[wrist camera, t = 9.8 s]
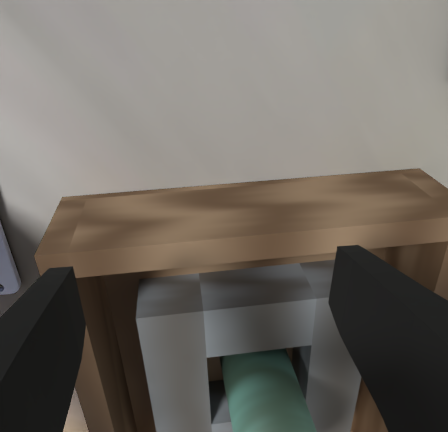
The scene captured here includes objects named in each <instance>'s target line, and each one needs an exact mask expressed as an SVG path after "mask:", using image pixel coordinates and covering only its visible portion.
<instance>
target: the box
mask: <svg viewBox="0 0 448 432" xmlns="http://www.w3.org/2000/svg"><path fill="white" fill-rule="evenodd" d="M349 245H359V246H361V247H363V248H364V249H366V250H368V251H369V252H371V253H373V254H374V255H376V256H377V257H379V258H380V259H382V260H384V261H385V262H387V263H388V264H390V265H391V266H393V267H394V268H396V269H397V270H399V271H400V272H402V273H404V274H405V275H407V276H408V277H410V278H411V279H413V280H415V281H416V282H418V283H419V284H421V285H423V286H424V287H426V288H427V289H429V290H431V291H432V292H434V293H436V294H437V295H439V296H441V297H443V298H445V299H446V300H448V189H447V188H446V187H445V186H443V185H442V184H440V183H439V182H438V181H436V180H435V179H433V178H432V177H431V176H429V175H428V174H427V173H425V172H424V171H422V170H421V169H420V168H419V169H407V170H395V171H382V172H370V173H357V174H345V175H332V176H320V177H307V178H295V179H283V180H270V181H258V182H245V183H233V184H220V185H208V186H195V187H183V188H171V189H158V190H146V191H133V192H121V193H108V194H96V195H83V196H71V197H62V199H61V201H60V203H59V205H58V207H57V209H56V211H55V213H54V215H53V217H52V220H51V222H50V224H49V226H48V228H47V230H46V232H45V234H44V236H43V238H42V240H41V243H40V245H39V247H38V249H37V251H36V253H35V255H34V257H35V261H36V264H37V267H38V270H39V273H40V277H41V276H42V275H43V273H44V272H46V271H47V270H48V269H49V268H57V267H70V266H73V269H74V273H75V278H76V282H77V286H78V291H79V295H80V300H81V304H82V309H83V313H84V317H85V322H86V329H85V338H84V346H83V353H82V360H81V364H80V368H79V372H78V376H77V380H76V383H75V388H76V391H77V394H78V398H79V401H80V404H81V407H82V410H83V414H84V417H85V420H86V423H87V426H88V430H89V432H233V429H232V424H231V418H230V413H229V407H228V402H227V396H226V391H225V385H224V380H223V374H222V369H221V363H220V358H219V356H226V355H234V354H242V353H250V352H259V351H267V350H275V349H284V348H286V350H287V353H288V355H289V358H290V361H291V363H292V366H293V369H294V372H295V374H296V377H297V380H298V382H299V385H300V388H301V390H302V393H303V396H304V398H305V401H306V404H307V406H308V409H309V412H310V414H311V417H312V420H313V423H314V425H315V428H316V431H317V432H388V430H387V428H386V425H385V423H384V420H383V418H382V416H381V414H380V412H379V410H378V408H377V406H376V404H375V402H374V400H373V398H372V396H371V394H370V392H369V390H368V388H367V386H366V385H365V383H364V381H363V379H362V377H361V375H360V373H359V371H358V369H357V367H356V365H355V364H354V362H353V360H352V358H351V356H350V354H349V352H348V350H347V348H346V346H345V344H344V342H343V340H342V338H341V336H340V334H339V332H338V329H337V326H336V324H335V321H334V318H333V315H332V312H331V309H330V306H329V303H328V301H329V294H330V288H331V282H332V276H333V269H334V263H335V257H336V251H337V246H349Z"/></svg>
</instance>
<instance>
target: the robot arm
mask: <svg viewBox="0 0 448 432" xmlns="http://www.w3.org/2000/svg"><path fill="white" fill-rule="evenodd" d="M0 284H1V285H3V287H0V295H5V294H13V293H16V292H17V291H18V290H19V288H20V286H21V280H20V277H19V274H18V271H17V268H16V266H15V263H14V260H13V257H12V254H11V251H10V248H9V245H8V242H7V240H6V237H5V234H4V231H3V228H2V225H1V222H0ZM328 303H329V306H330V309H331V312H332V315H333V318H334V321H335V324H336V326H337V329H338V332H339V334H340V336H341V338H342V340H343V342H344V344H345V346H346V348H347V350H348V352H349V354H350V356H351V358H352V360H353V362H354V364H355V365H356V367H357V369H358V371H359V373H360V375H361V377H362V379H363V381H364V383H365V385H366V386H367V388H368V390H369V392H370V394H371V396H372V398H373V400H374V402H375V404H376V406H377V408H378V410H379V412H380V414H381V416H382V418H383V420H384V423H385V425H386V428H387V430H388V432H448V300H446V299H445V298H443V297H441V296H439V295H437V294H436V293H434V292H432V291H431V290H429V289H427V288H426V287H424V286H423V285H421V284H419V283H418V282H416V281H415V280H413V279H411V278H410V277H408V276H407V275H405V274H404V273H402V272H400V271H399V270H397V269H396V268H394V267H393V266H391V265H390V264H388V263H387V262H385V261H384V260H382V259H380V258H379V257H377V256H376V255H374V254H373V253H371V252H369V251H368V250H366V249H364V248H363V247H361V246H359V245H349V246H337V251H336V257H335V263H334V269H333V276H332V282H331V288H330V294H329V301H328ZM85 329H86V322H85V317H84V313H83V309H82V304H81V300H80V295H79V291H78V286H77V282H76V278H75V273H74V269H73V266H70V267H57V268H49V269H48V270H47V271H46V272H44V273H43V275H42V276H41V277H40V278H39V279H38V280H37V281H36V282H35V283H34V284H33V285H32V286H31V287H30V288H29V289H28V290H27V291H26V292H25V293H24V294H23V295H22V296H21V297H20V298H19V299H18V300H17V301H16V302H15V303H14V304H13V305H12V306H11V307H10V308H9V309H8V310H7V311H6V312H5V313H4V314H3V315H2V316H1V317H0V432H63V429H64V425H65V421H66V417H67V414H68V410H69V406H70V402H71V399H72V395H73V391H74V387H75V383H76V380H77V376H78V372H79V368H80V364H81V360H82V353H83V346H84V338H85Z"/></svg>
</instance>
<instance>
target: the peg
mask: <svg viewBox="0 0 448 432" xmlns="http://www.w3.org/2000/svg"><path fill="white" fill-rule="evenodd" d="M219 358H220V363H221V369H222V374H223V380H224V385H225V391H226V396H227V402H228V407H229V413H230V418H231V424H232V429H233V432H317V431H316V428H315V425H314V423H313V420H312V417H311V414H310V412H309V409H308V406H307V404H306V401H305V398H304V396H303V393H302V390H301V388H300V385H299V382H298V380H297V377H296V374H295V372H294V369H293V366H292V363H291V361H290V358H289V355H288V353H287V350H286V348H284V349H275V350H267V351H259V352H250V353H242V354H234V355H226V356H219Z"/></svg>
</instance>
